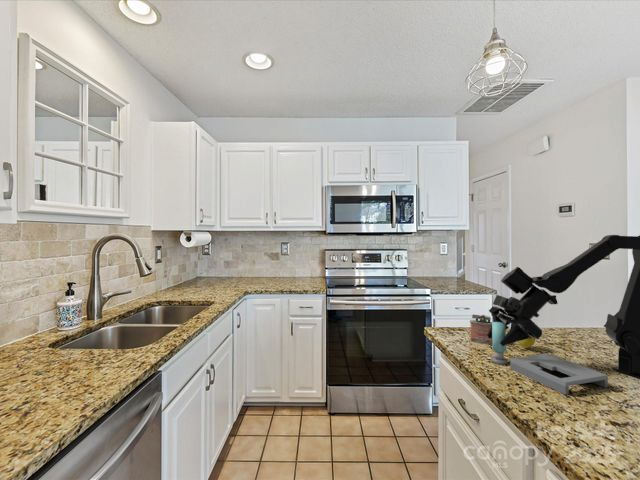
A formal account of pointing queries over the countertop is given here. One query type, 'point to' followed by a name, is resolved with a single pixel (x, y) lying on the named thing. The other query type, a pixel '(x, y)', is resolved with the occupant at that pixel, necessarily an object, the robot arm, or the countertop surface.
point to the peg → (498, 343)
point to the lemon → (527, 342)
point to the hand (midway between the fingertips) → (494, 340)
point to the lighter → (480, 329)
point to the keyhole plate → (555, 363)
